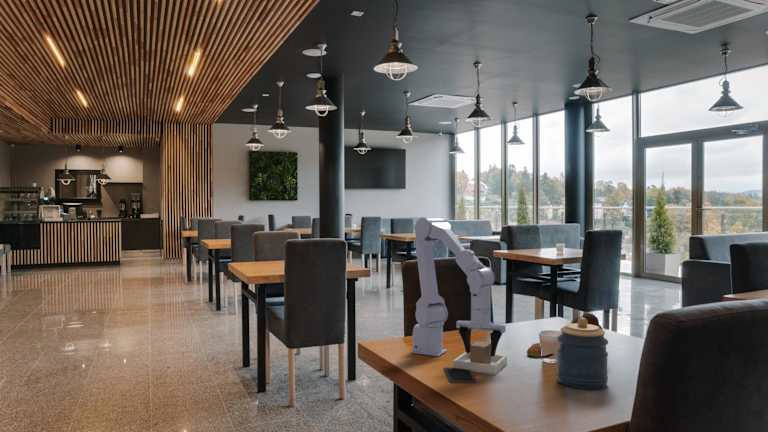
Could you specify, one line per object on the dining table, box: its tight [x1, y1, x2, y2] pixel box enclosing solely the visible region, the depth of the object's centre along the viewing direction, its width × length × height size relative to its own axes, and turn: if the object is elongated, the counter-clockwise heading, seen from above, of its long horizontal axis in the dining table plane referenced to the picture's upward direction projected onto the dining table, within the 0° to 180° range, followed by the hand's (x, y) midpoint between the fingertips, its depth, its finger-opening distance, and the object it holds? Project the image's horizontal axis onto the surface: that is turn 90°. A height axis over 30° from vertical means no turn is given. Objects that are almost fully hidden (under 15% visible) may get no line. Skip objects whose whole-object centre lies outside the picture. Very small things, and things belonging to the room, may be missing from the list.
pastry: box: [526, 341, 542, 358], centre depth 178 cm, size 9×7×4 cm
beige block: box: [470, 340, 491, 365], centre depth 164 cm, size 4×6×6 cm
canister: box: [556, 318, 609, 391], centre depth 149 cm, size 13×13×18 cm
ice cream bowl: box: [570, 312, 606, 337], centre depth 170 cm, size 11×11×15 cm
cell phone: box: [443, 366, 477, 384], centre depth 155 cm, size 7×14×1 cm, turn 2°
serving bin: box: [452, 351, 508, 376], centre depth 164 cm, size 13×13×2 cm
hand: (480, 354), depth 164 cm, fingers open, 7 cm apart
